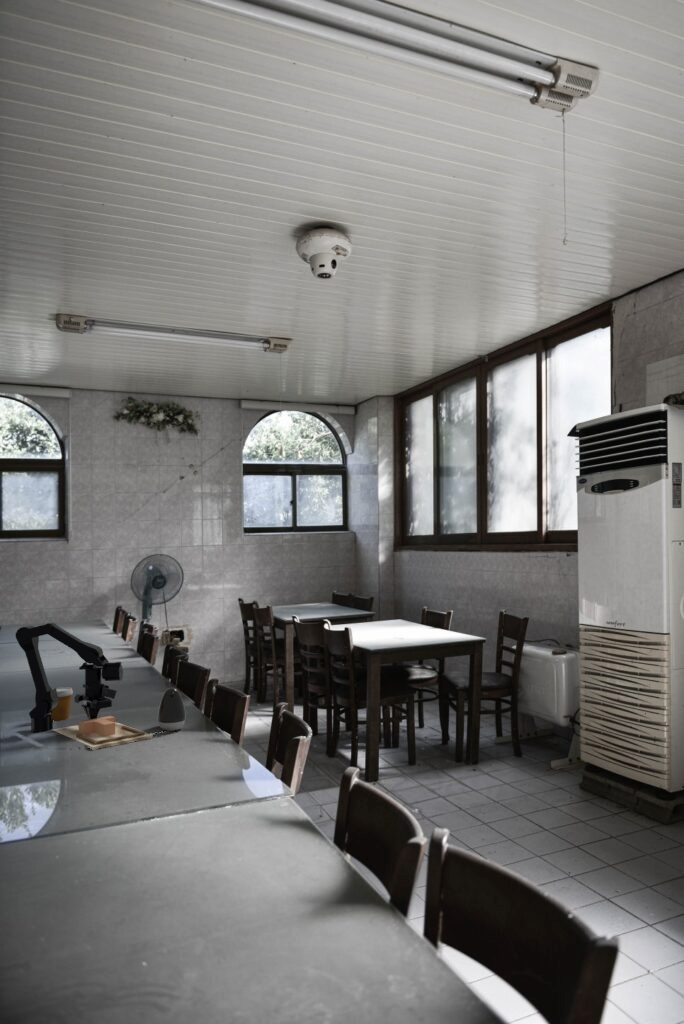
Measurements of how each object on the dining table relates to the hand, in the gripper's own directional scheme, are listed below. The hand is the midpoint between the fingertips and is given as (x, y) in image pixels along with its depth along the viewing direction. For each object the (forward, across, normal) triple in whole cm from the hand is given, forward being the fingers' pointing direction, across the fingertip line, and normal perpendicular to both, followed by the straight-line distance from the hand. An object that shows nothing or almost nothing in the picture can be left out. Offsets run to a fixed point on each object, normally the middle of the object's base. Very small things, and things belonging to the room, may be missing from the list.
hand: (93, 724), depth 265 cm
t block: (+2, -8, 0) cm, 8 cm away
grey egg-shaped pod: (+3, -18, -22) cm, 29 cm away
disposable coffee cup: (+3, +27, +1) cm, 27 cm away
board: (+3, -7, 0) cm, 8 cm away
